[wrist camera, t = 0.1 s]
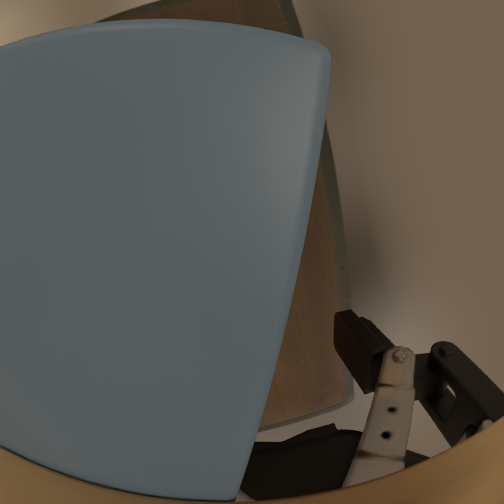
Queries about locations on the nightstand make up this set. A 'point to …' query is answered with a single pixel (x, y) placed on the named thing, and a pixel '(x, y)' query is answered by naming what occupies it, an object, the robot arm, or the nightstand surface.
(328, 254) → the nightstand surface
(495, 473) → the stick
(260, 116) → the stand
